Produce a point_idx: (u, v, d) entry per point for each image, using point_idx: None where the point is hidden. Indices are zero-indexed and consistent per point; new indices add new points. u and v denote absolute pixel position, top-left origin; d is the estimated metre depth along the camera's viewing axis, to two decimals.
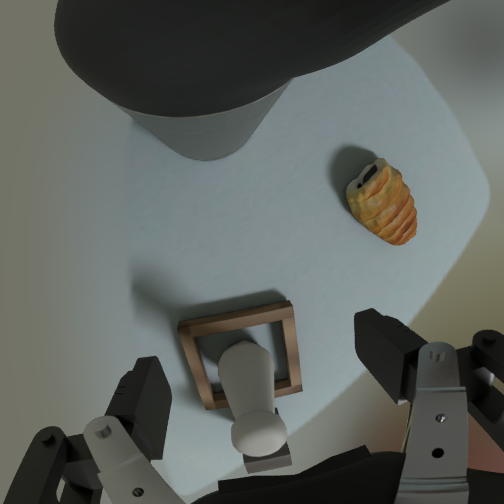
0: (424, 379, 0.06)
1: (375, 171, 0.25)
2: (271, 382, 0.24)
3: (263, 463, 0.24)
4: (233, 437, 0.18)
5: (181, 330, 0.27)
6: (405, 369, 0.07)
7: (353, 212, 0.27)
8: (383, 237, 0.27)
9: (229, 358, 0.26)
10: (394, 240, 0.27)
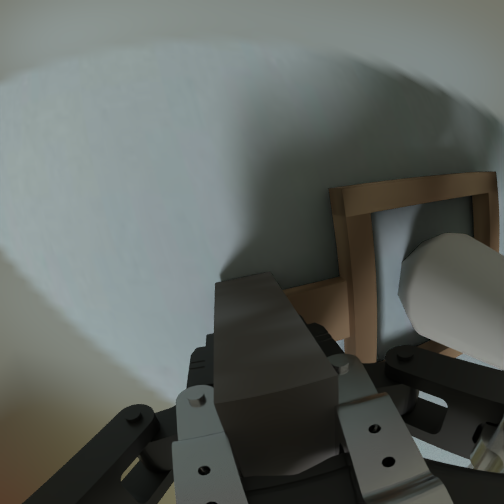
0: None
1: None
2: None
3: (306, 443, 0.05)
4: None
5: (494, 177, 0.12)
6: None
7: None
8: None
9: None
10: None
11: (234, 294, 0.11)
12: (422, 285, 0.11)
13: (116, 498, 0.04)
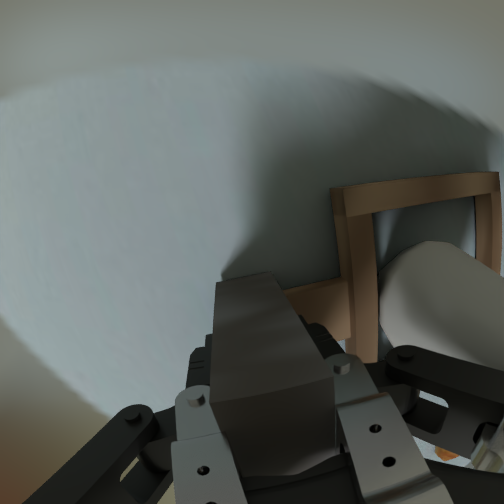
0: (337, 394, 0.06)
1: None
2: None
3: (303, 444, 0.05)
4: None
5: (497, 177, 0.12)
6: None
7: None
8: None
9: None
10: None
11: (234, 294, 0.11)
12: (396, 296, 0.11)
13: (115, 498, 0.04)
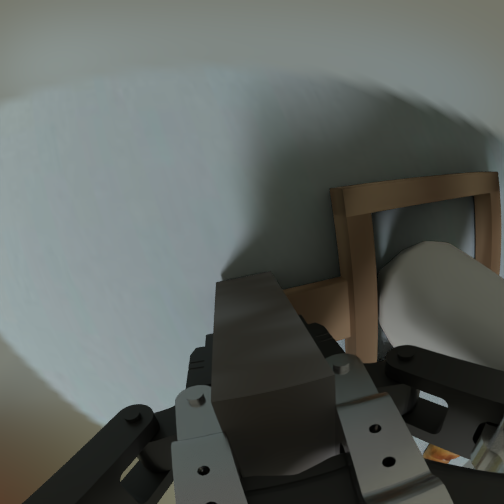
0: (337, 394, 0.06)
1: None
2: None
3: (303, 442, 0.06)
4: None
5: (496, 177, 0.12)
6: None
7: None
8: None
9: None
10: (440, 455, 0.17)
11: (235, 293, 0.11)
12: (396, 296, 0.11)
13: (115, 498, 0.04)
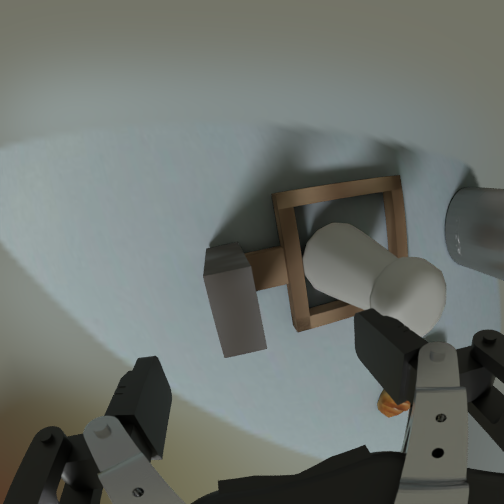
0: (424, 379, 0.06)
1: None
2: None
3: (243, 304, 0.15)
4: (430, 263, 0.12)
5: (398, 179, 0.22)
6: (405, 369, 0.07)
7: None
8: None
9: None
10: (390, 402, 0.27)
11: (216, 251, 0.20)
12: (308, 254, 0.21)
13: None
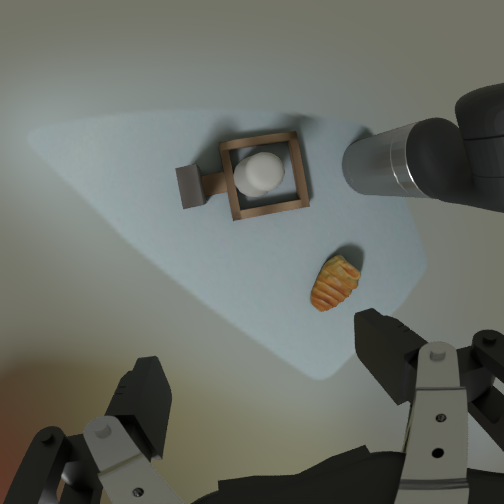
0: (424, 379, 0.06)
1: None
2: None
3: (192, 181, 0.33)
4: (270, 153, 0.29)
5: (294, 133, 0.39)
6: (405, 369, 0.07)
7: (328, 261, 0.44)
8: (317, 286, 0.44)
9: None
10: (316, 294, 0.44)
11: None
12: (235, 171, 0.38)
13: None
